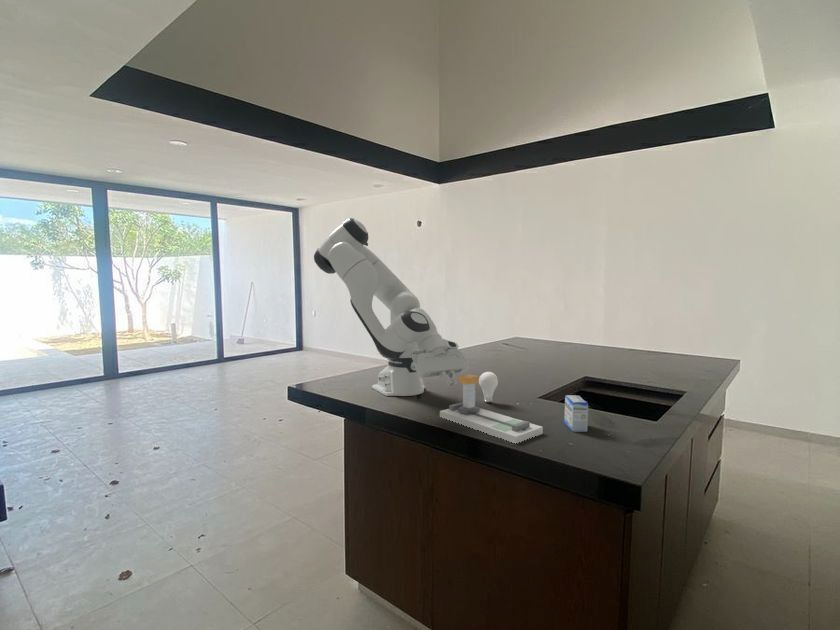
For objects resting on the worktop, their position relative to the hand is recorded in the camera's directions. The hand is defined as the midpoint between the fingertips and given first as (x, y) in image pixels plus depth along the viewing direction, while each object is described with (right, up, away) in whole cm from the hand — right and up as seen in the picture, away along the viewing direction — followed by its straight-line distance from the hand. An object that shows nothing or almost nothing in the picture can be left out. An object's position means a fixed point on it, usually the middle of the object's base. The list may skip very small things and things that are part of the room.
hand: (452, 384), depth 140 cm
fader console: (+10, -11, -9) cm, 17 cm away
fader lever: (+5, -8, -3) cm, 10 cm away
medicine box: (+35, -11, -11) cm, 39 cm away
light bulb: (+14, -9, +15) cm, 22 cm away
